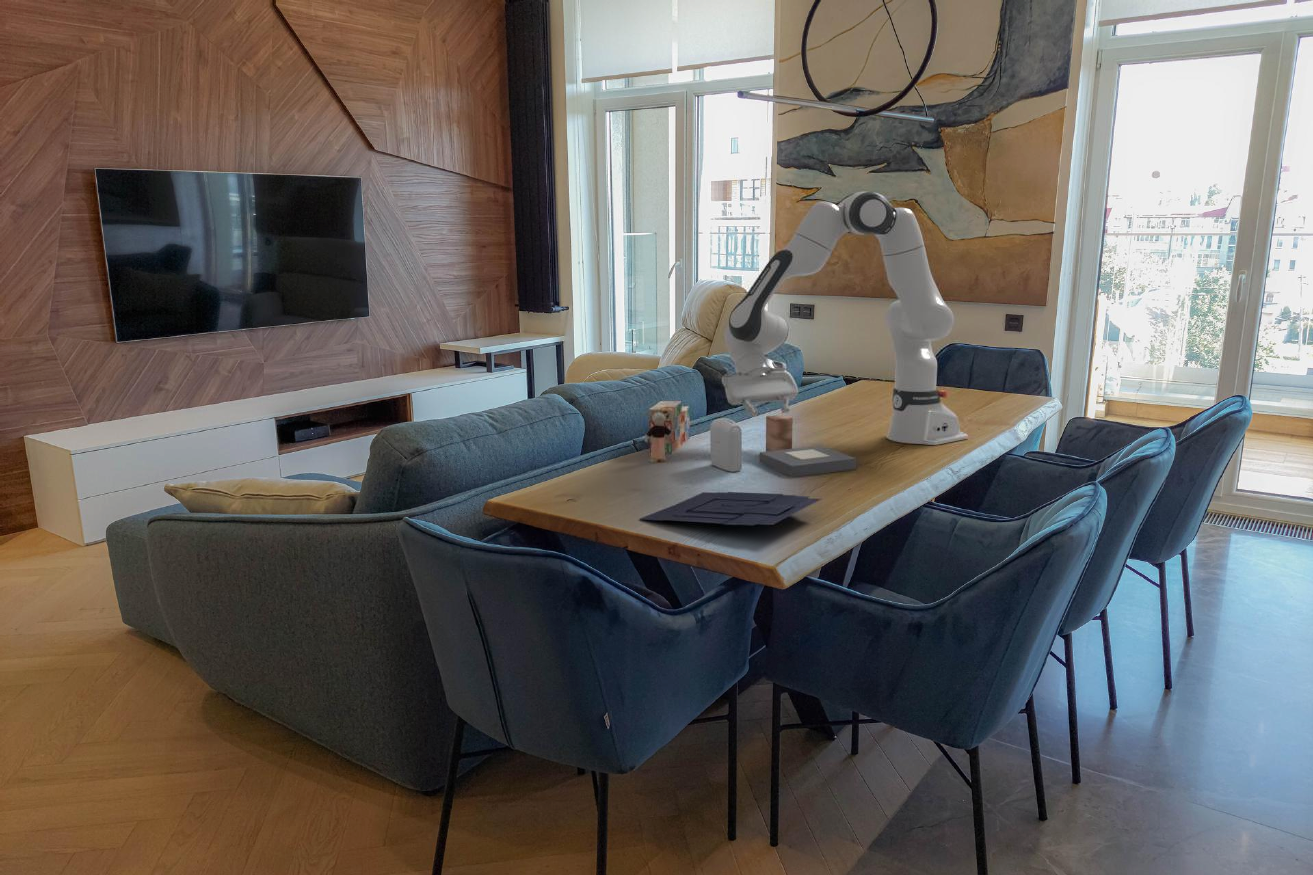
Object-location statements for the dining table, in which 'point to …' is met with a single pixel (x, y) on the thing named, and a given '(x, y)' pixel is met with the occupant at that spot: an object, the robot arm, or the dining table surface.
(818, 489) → the dining table surface
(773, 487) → the dining table surface
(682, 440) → the stack of blocks
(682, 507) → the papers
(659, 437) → the grandmother figurine
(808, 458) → the base plate
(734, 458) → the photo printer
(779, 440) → the terracotta block
